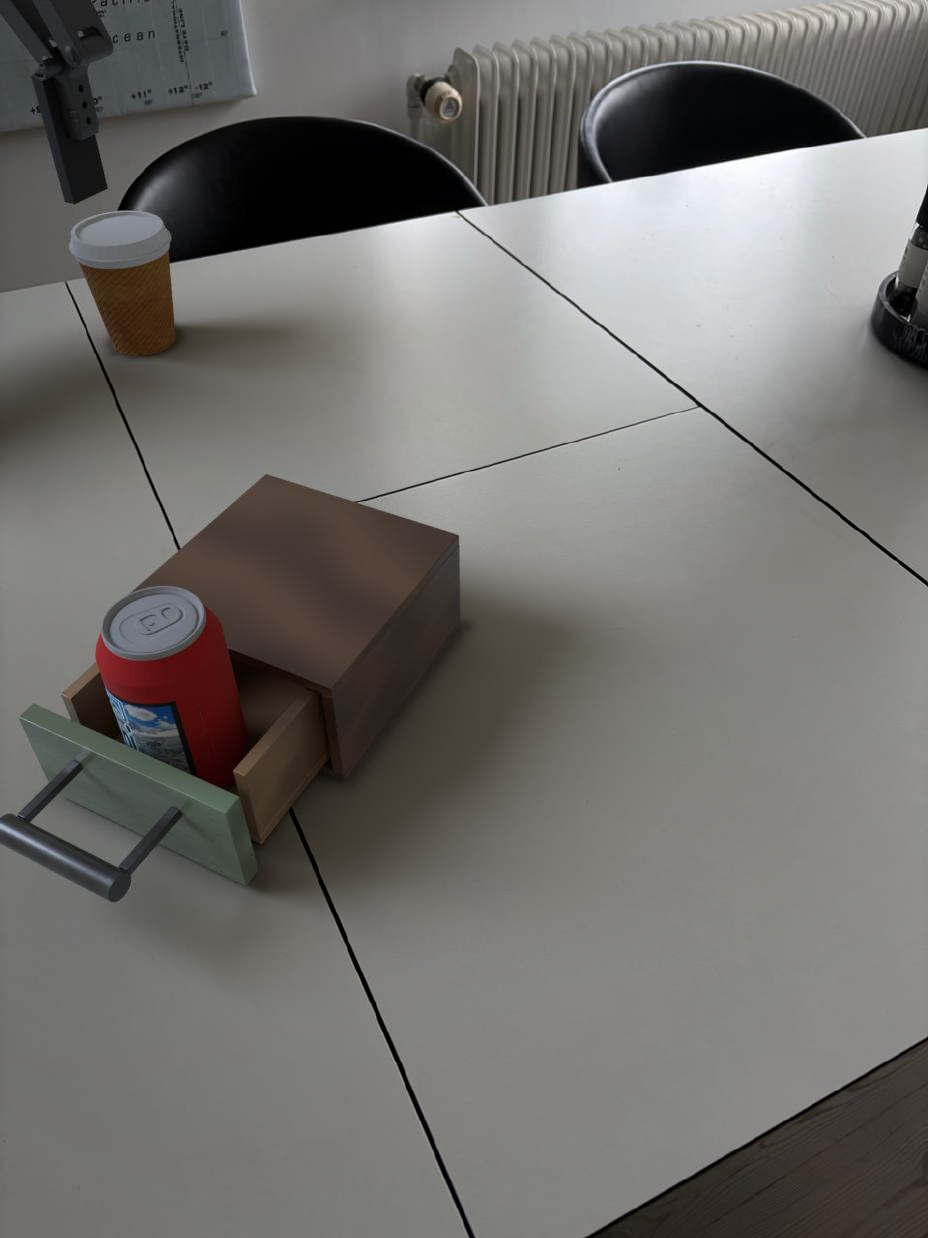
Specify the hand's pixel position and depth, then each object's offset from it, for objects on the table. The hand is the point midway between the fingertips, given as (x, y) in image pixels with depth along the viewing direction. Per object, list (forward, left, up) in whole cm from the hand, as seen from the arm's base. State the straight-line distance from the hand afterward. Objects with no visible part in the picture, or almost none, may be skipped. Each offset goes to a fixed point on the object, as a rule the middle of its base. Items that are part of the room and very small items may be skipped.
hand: (0, 175), depth 60 cm
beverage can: (+21, -16, -27) cm, 37 cm away
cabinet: (+21, -4, -28) cm, 35 cm away
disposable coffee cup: (-20, +27, -29) cm, 44 cm away
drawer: (+21, -16, -27) cm, 38 cm away
